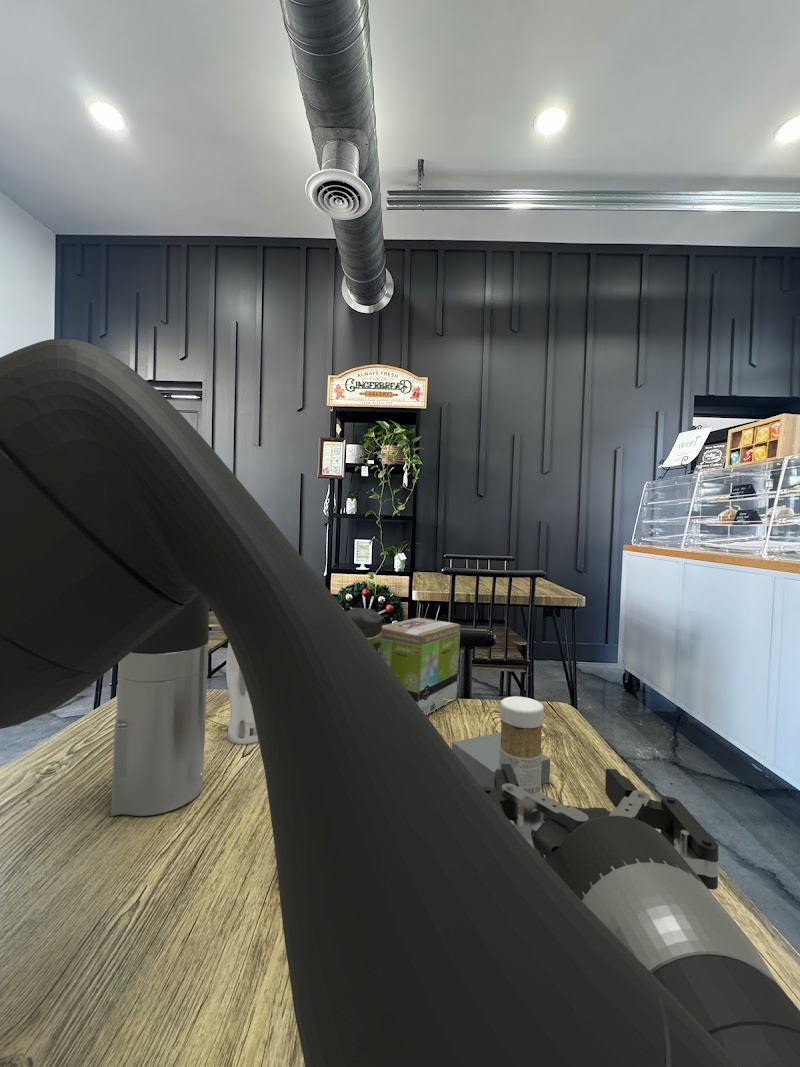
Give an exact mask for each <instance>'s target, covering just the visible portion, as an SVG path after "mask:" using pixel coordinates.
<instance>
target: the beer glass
mask: <svg viewBox="0 0 800 1067" xmlns="http://www.w3.org/2000/svg"><path fill="white" fill-rule="evenodd" d="M225 661H226V663H225V664H226V665H225V667H226V668H225V671H226V672H225V676H226V685H227V692H228V699H229V705H230V706H229V707H230V708H229V709H230V710H229V711H230V714H229V715H230V716H229V724H228V729H227V731H226V739H227V741H228V742H230V743H231V744H235V745H236V744H237V745H250V744H256V743H259V740H258V735H257V730H256V725H255V720H254V715H253V710H252V705H251V702H250V699H249V695H248V692H247V688H246V685H245V682H244V678H243V675H242V672H241V670H240V667H239V665H238V662H237V660H236V657H235V655H234V652H233V650H232V647H231V645H230V643H229V642H228V644H227V650H226V660H225Z"/></svg>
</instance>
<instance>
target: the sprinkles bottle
mask: <svg viewBox="0 0 800 1067" xmlns="http://www.w3.org/2000/svg"><path fill="white" fill-rule="evenodd" d="M499 717H500V732H501V744H500V756H499V769H501V764H502V763H503V764H511V766H512V769H513V771H514V774H515V776H516V779H517V781H518V784H519V788H521V789H523V790H525V791H526V792H528V793H530V794H533V793H535V792H541V787H542V786H541V763H542V754H543V753H542V729H543V724H544V722H545V707H544V705H543V704H542V702H540V701H539V700H536V699H533V698H531V697H530V698H529V697H524V696H508V697H507V696H506V697H504V698H503V699H502V700H501V701H500V707H499ZM518 814H519V815H521V816H522V817H523V814H524V812H523V808H522V807H521V806H520V805H518Z"/></svg>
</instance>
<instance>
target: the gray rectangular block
mask: <svg viewBox="0 0 800 1067" xmlns="http://www.w3.org/2000/svg"><path fill="white" fill-rule="evenodd" d="M500 744H501V731H500V732H495V733H491V734H490V733H489V734H485V735H481V736H476V737H471V738H466V739H461V740H456V741H452V742H451V749H452V750H453V752H454V753H455V754H456V756H457V757H458V758H459V759H460V761H461V762H462V763H463V764H464V766H465V767H466V768H467V770H468V771H469V772H470V773H471V775H472V776H473V777H474V778H475V780H476V781H477V782H478V783H479V785H480V786H481V787H490V788H493V789H494V783H495V771H496V769H499V756H500ZM550 774H551V758H550V757H548V756H547V755H544V754H543V753H542V763H541V785H545V784H548V783H550V781H551V780H550V777H551V775H550Z"/></svg>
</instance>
